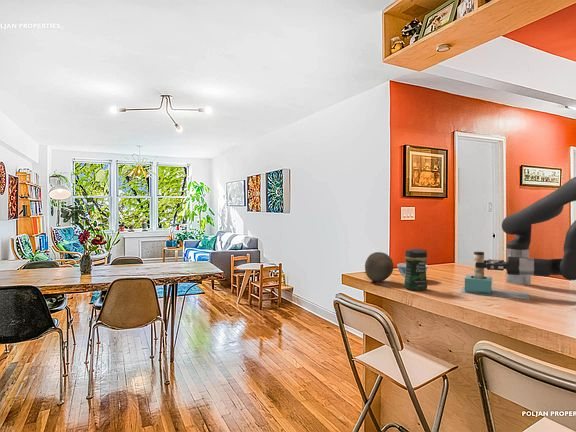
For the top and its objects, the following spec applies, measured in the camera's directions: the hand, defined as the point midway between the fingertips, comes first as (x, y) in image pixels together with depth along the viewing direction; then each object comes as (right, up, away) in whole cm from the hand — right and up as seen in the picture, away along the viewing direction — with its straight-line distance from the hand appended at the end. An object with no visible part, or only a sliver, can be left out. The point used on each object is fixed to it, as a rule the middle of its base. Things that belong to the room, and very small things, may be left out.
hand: (476, 263), depth 161 cm
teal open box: (+1, -13, 0) cm, 13 cm away
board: (+6, -13, -3) cm, 15 cm away
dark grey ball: (-35, -13, +27) cm, 46 cm away
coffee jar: (-23, -13, +10) cm, 28 cm away
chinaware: (-17, -13, +32) cm, 38 cm away
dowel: (+1, -11, 0) cm, 11 cm away
